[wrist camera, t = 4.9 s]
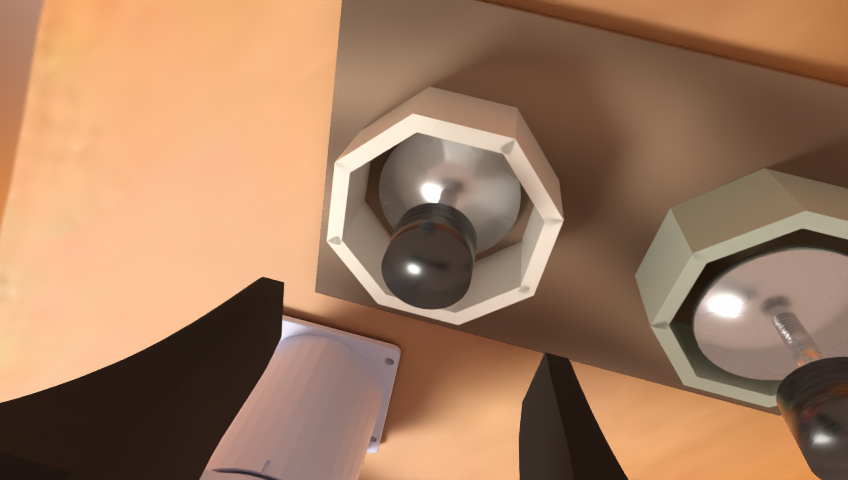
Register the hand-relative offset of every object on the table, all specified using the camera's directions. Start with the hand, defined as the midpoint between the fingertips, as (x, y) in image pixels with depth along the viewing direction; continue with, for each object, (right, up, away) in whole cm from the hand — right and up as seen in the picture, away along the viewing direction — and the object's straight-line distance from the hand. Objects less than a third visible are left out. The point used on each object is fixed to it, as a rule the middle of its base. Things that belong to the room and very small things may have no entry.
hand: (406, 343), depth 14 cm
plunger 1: (+2, +5, +8) cm, 9 cm away
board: (+8, +4, +8) cm, 12 cm away
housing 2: (+14, +2, +8) cm, 17 cm away
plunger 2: (+14, 0, +5) cm, 15 cm away
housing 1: (+2, +5, +9) cm, 10 cm away
